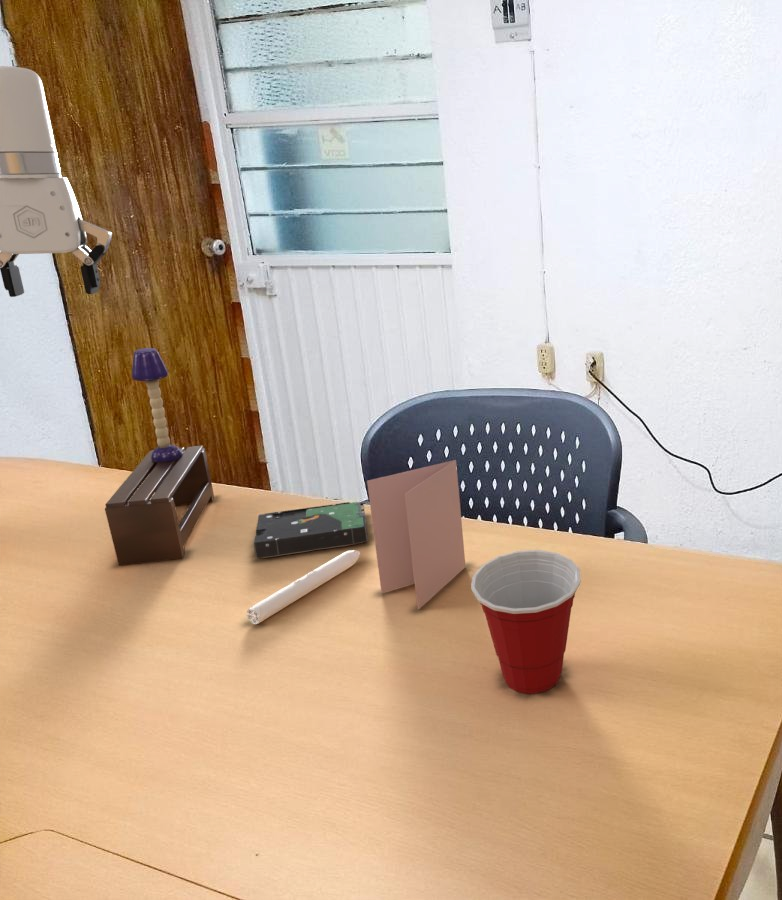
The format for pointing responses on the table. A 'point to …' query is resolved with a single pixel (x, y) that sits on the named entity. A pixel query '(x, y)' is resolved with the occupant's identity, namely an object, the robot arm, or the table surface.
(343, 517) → the disk drive
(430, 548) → the greeting card
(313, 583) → the marker
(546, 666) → the plastic cup
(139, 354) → the toy lamp
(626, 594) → the table surface
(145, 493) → the bench
